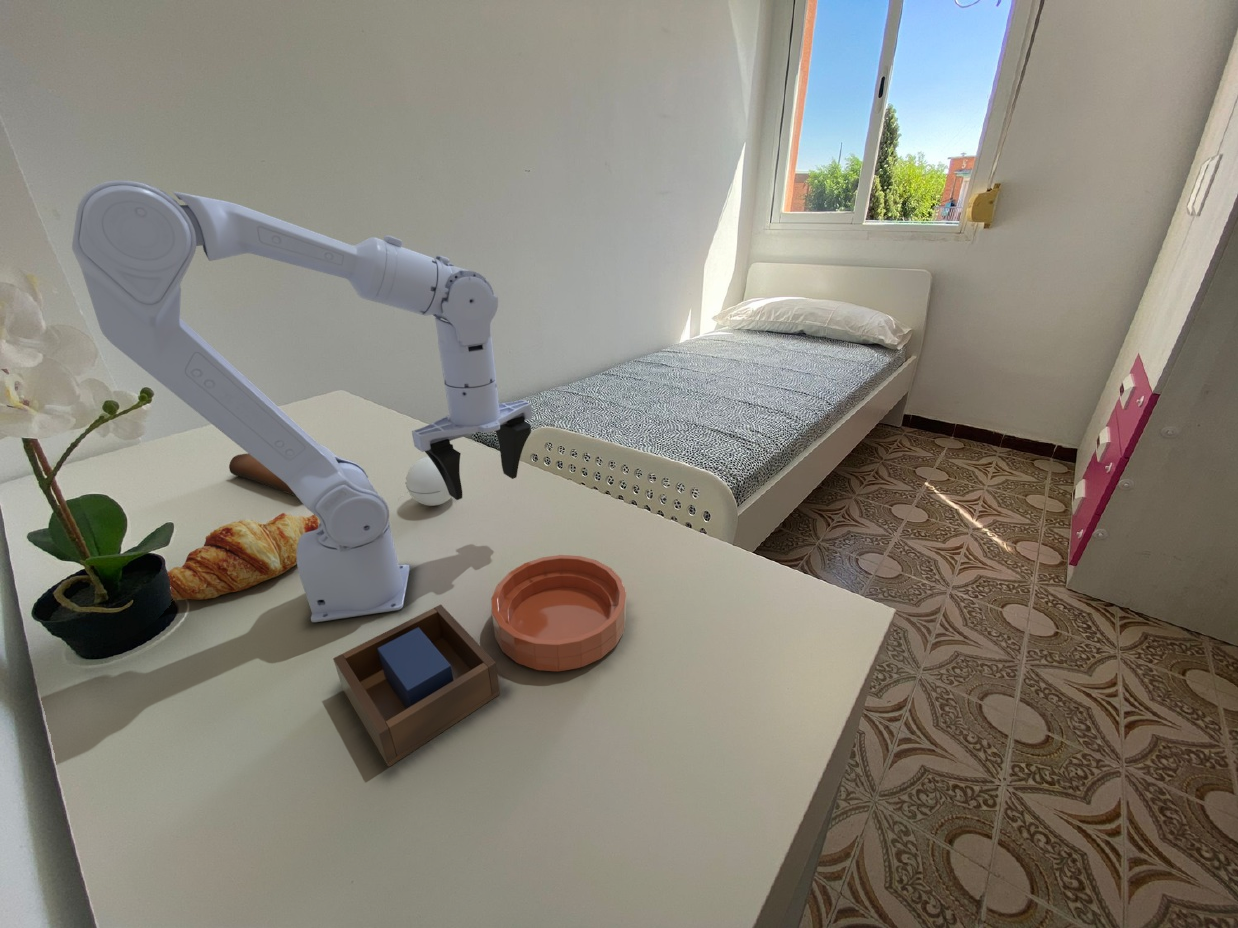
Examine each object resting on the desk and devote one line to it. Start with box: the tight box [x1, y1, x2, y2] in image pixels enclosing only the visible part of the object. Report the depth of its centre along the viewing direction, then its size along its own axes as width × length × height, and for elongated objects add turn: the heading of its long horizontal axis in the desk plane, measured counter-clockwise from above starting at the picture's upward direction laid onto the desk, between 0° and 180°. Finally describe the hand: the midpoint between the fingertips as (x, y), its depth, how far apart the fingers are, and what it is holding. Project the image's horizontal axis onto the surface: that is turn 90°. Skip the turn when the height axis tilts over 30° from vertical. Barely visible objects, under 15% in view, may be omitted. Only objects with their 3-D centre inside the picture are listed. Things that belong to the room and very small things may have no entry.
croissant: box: [166, 512, 320, 601], centre depth 67 cm, size 21×10×8 cm, turn 141°
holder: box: [332, 604, 501, 768], centre depth 50 cm, size 11×11×4 cm
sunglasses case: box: [228, 453, 298, 498], centre depth 88 cm, size 18×7×7 cm, turn 63°
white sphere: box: [398, 456, 453, 507], centre depth 80 cm, size 10×7×7 cm
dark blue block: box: [378, 627, 454, 709], centre depth 50 cm, size 4×6×4 cm, turn 43°
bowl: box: [490, 554, 627, 672], centre depth 58 cm, size 14×14×4 cm
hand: (483, 485), depth 68 cm, fingers open, 7 cm apart
